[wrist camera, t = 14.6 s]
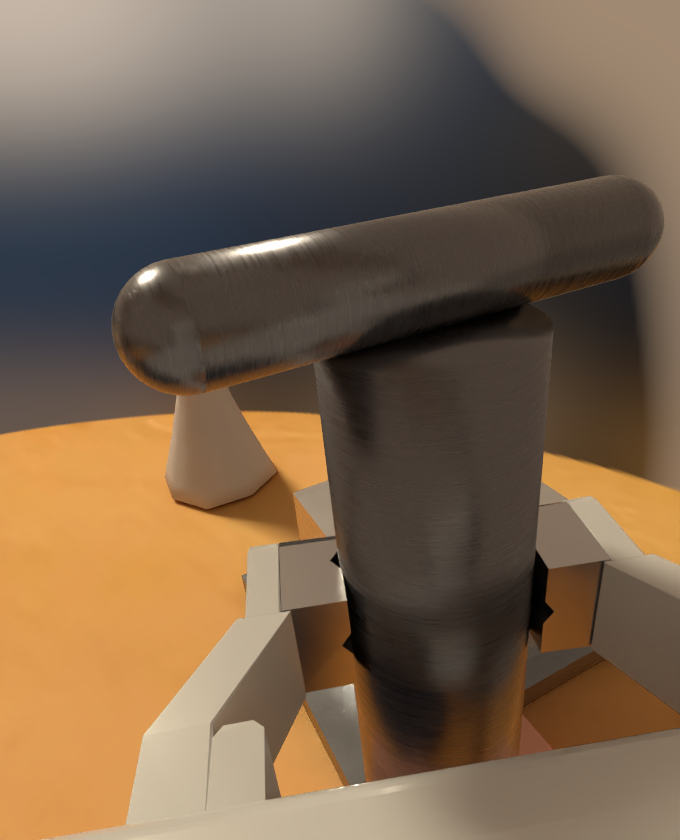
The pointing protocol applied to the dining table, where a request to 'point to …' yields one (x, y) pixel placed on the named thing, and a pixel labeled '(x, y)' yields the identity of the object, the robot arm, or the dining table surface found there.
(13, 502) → the dining table surface
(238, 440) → the flask
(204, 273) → the chuck key
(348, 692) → the block
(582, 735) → the dining table surface
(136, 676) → the dining table surface
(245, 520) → the dining table surface
